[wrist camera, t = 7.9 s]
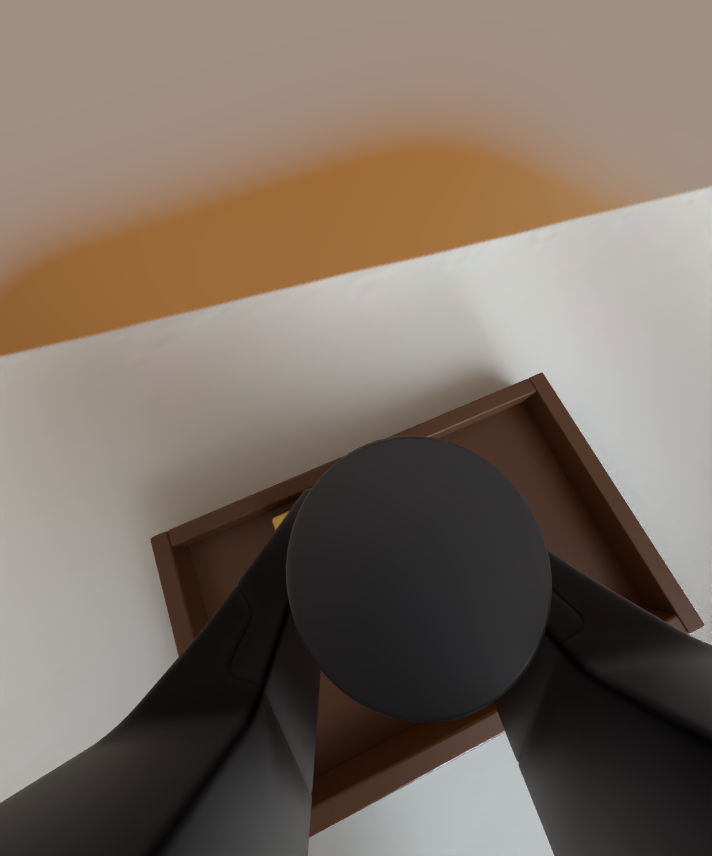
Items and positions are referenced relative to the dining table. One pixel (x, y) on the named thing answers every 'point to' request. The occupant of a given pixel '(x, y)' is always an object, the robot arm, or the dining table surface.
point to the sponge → (418, 579)
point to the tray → (564, 536)
